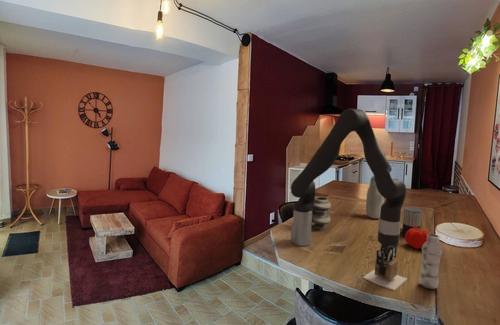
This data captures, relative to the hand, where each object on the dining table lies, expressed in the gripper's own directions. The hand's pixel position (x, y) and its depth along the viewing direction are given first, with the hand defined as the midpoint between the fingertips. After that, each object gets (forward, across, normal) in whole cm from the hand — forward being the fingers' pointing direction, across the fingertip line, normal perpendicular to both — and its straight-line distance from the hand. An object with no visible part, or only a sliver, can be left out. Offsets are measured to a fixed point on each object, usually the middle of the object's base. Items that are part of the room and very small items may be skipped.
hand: (385, 271), depth 116 cm
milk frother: (+3, -60, -16) cm, 62 cm away
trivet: (+3, 0, 0) cm, 3 cm away
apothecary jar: (+3, -30, -51) cm, 59 cm away
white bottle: (+3, -74, -39) cm, 84 cm away
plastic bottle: (+3, -7, +13) cm, 15 cm away
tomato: (+3, -45, -3) cm, 45 cm away
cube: (+1, 0, 0) cm, 1 cm away
